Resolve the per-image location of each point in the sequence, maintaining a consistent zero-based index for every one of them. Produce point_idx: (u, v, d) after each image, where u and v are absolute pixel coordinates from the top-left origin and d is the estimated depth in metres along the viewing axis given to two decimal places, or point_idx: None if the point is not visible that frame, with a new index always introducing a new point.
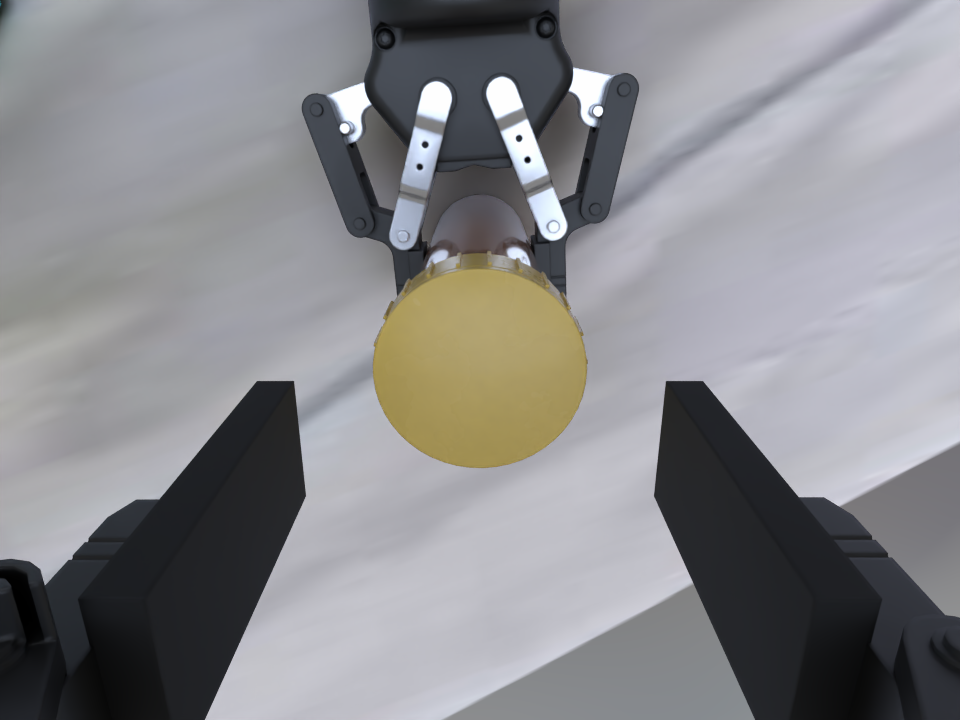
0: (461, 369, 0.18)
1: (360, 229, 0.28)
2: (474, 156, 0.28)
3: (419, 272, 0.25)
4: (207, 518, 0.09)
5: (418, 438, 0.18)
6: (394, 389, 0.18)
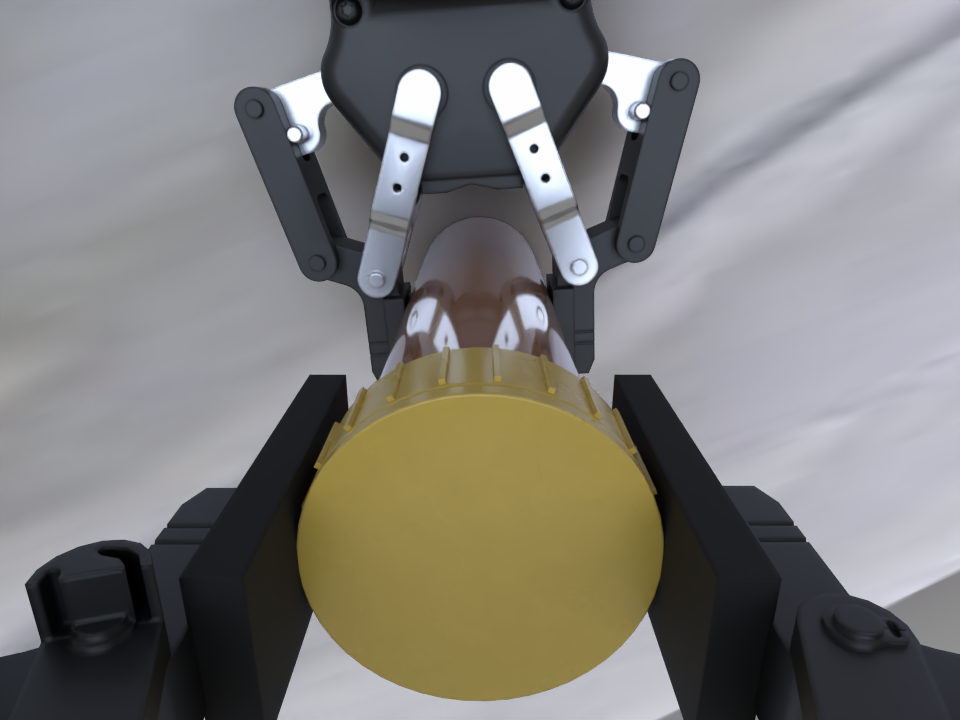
0: (448, 555, 0.10)
1: (318, 270, 0.21)
2: (472, 172, 0.20)
3: None
4: (285, 504, 0.10)
5: (377, 658, 0.11)
6: (334, 585, 0.10)
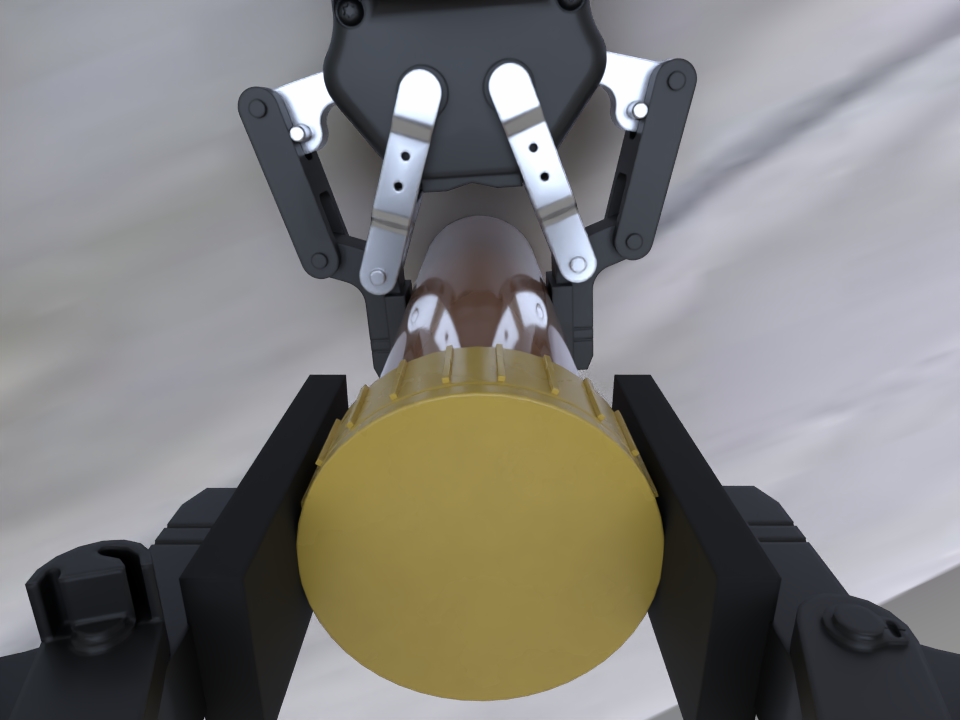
0: (475, 588, 0.10)
1: (320, 268, 0.21)
2: (472, 171, 0.21)
3: (395, 336, 0.18)
4: (285, 504, 0.10)
5: (609, 636, 0.11)
6: (523, 673, 0.11)
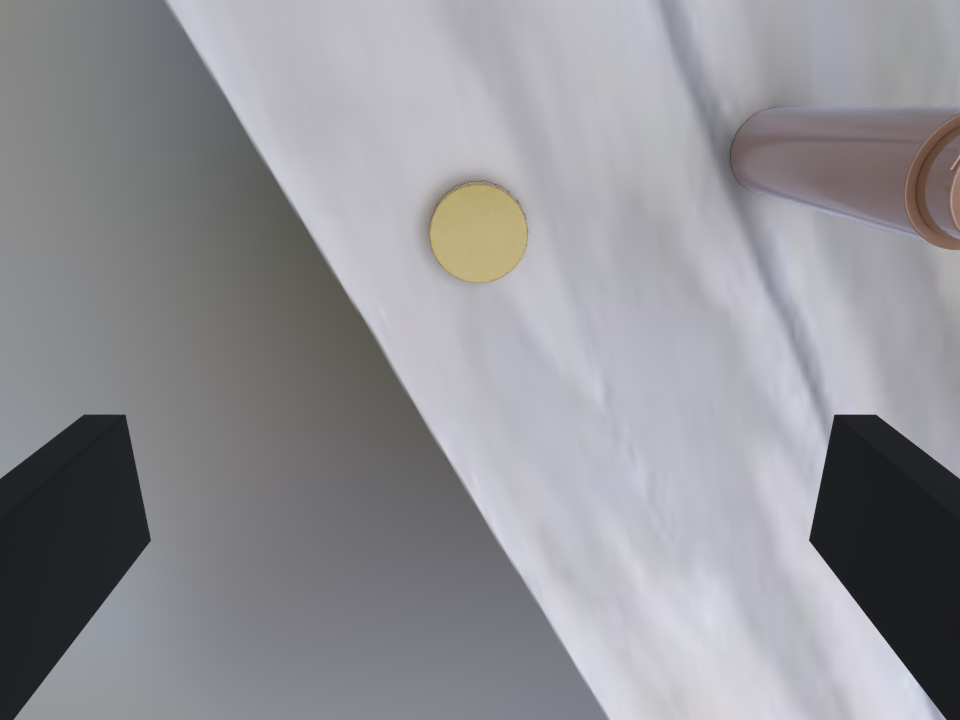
0: (477, 243, 0.39)
1: None
2: None
3: None
4: None
5: (514, 259, 0.39)
6: (490, 272, 0.40)
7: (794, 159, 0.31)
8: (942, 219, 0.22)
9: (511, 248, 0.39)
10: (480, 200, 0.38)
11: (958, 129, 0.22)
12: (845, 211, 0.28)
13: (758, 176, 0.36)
